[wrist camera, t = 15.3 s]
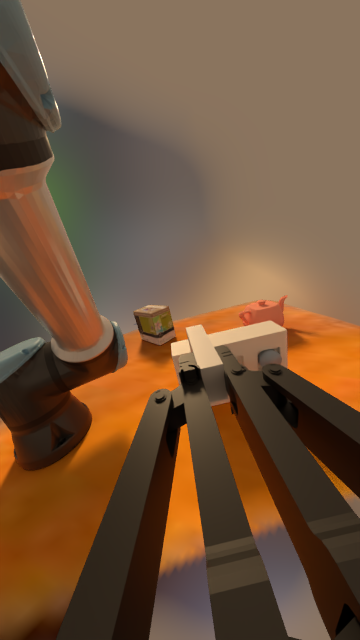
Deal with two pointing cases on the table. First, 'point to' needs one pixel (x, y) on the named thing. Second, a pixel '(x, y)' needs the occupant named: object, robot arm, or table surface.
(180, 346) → the button panel
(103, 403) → the table surface
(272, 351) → the dark grey button
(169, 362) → the table surface
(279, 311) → the teapot
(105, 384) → the table surface
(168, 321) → the tea box
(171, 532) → the table surface
